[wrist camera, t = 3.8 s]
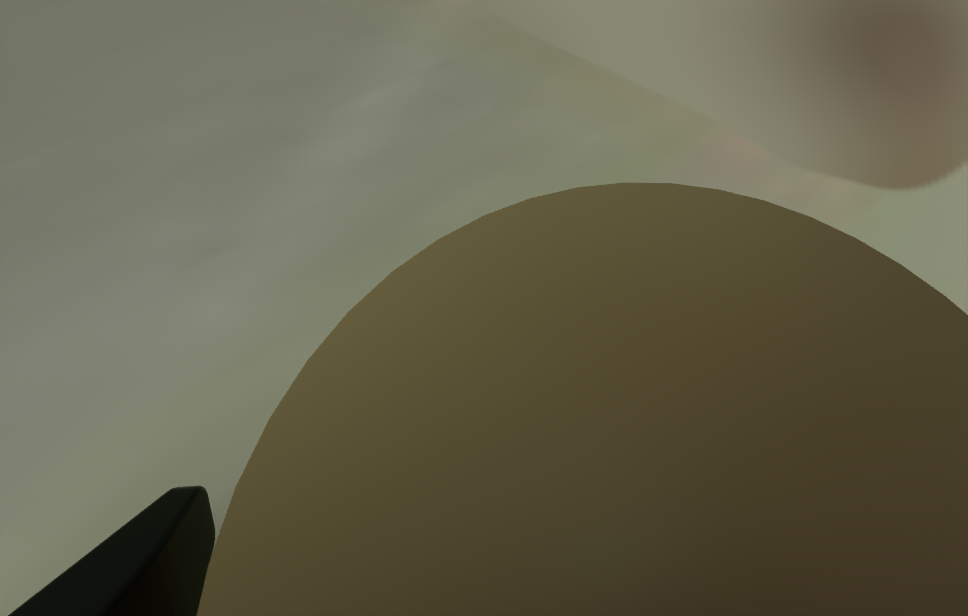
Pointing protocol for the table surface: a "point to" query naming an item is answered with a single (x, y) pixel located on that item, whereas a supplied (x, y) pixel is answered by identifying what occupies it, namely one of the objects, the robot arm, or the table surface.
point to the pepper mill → (618, 427)
